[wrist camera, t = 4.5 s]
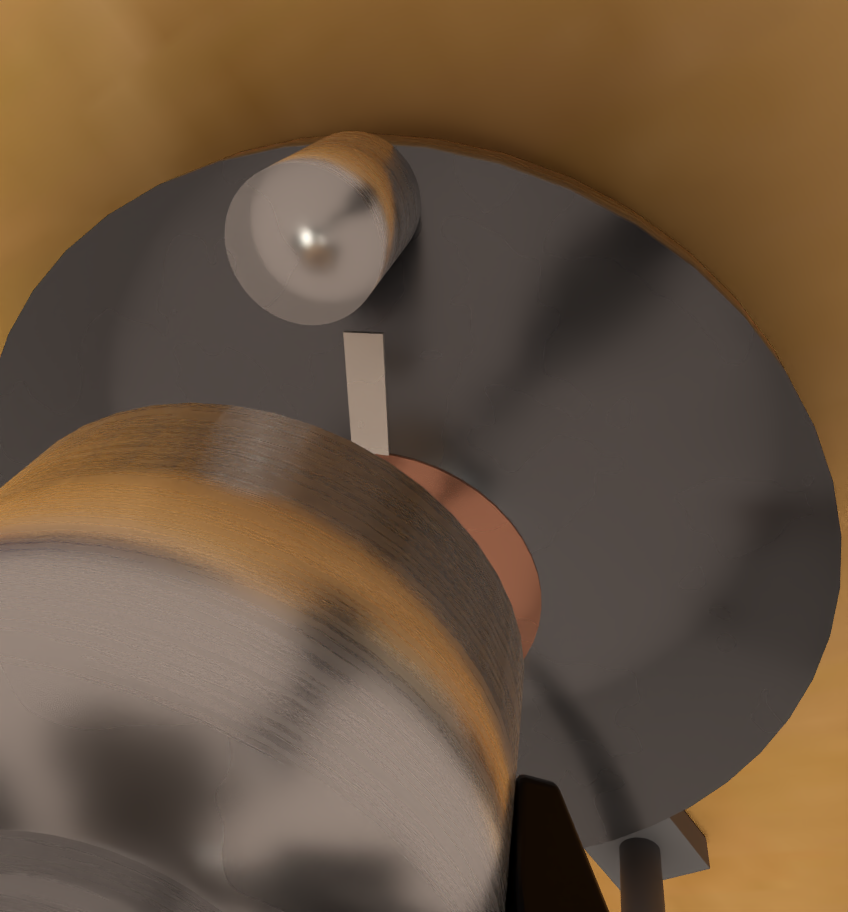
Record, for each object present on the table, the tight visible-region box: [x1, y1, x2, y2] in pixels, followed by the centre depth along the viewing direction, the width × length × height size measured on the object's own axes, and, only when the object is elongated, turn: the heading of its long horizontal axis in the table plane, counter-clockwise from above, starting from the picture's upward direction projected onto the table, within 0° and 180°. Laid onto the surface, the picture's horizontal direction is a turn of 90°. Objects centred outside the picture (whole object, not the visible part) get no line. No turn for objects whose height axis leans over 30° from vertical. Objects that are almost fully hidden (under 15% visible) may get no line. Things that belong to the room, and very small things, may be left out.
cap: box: [0, 403, 524, 912], centre depth 7 cm, size 6×6×5 cm
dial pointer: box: [584, 810, 710, 912], centre depth 22 cm, size 3×4×6 cm
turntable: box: [0, 131, 841, 848], centre depth 18 cm, size 20×20×4 cm
